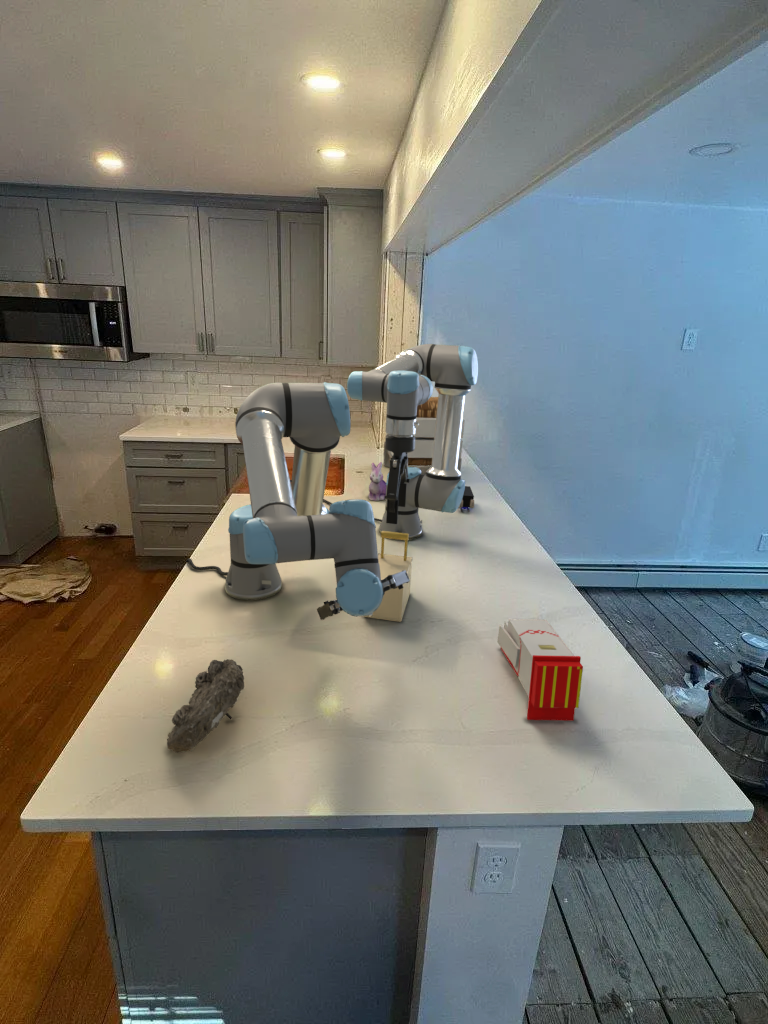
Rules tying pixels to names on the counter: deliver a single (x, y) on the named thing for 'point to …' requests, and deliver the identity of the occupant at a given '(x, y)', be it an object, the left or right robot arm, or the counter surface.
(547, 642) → the toy
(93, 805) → the counter surface
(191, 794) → the counter surface
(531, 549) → the counter surface
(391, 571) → the lid
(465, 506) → the figurine character
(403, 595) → the chest
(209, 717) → the fossil
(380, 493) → the figurine
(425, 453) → the transformer
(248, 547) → the left robot arm
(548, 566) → the counter surface
